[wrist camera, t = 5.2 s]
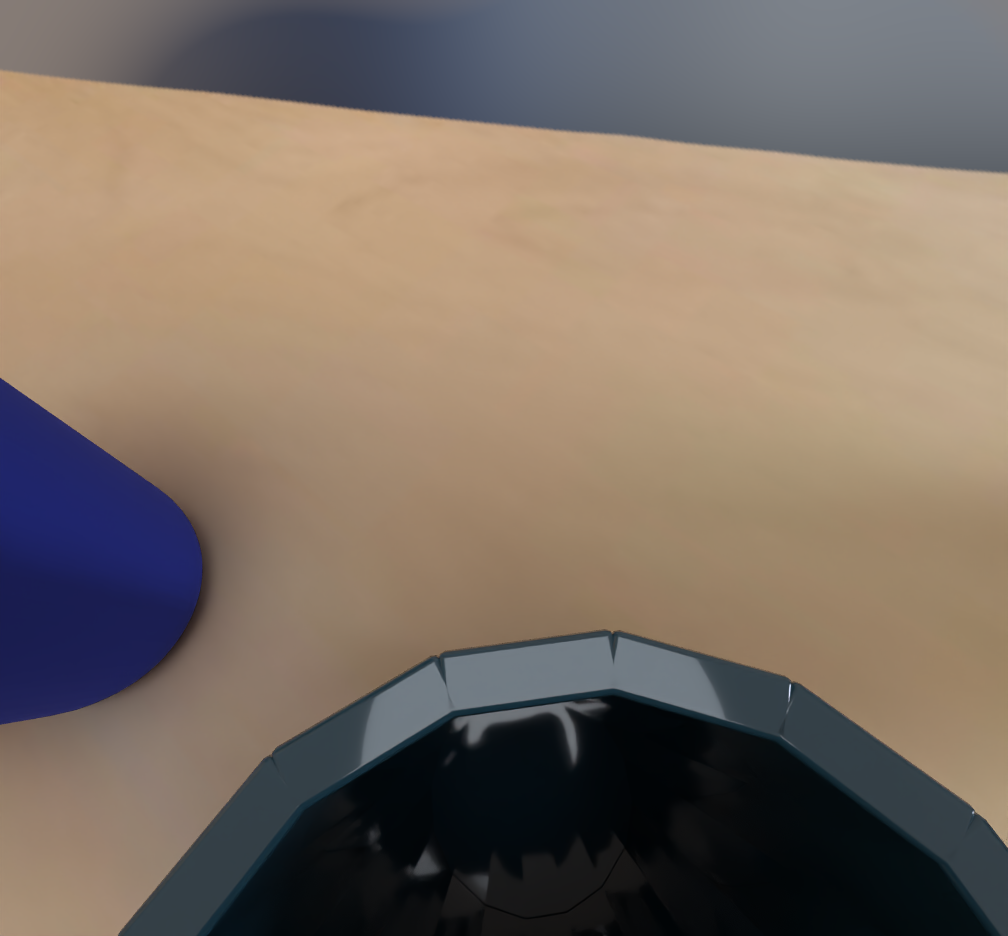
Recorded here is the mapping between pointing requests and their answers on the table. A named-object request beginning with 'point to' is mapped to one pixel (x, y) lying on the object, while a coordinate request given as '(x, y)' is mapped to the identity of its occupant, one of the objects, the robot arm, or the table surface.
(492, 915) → the pencil cup
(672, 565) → the table surface
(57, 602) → the mug
